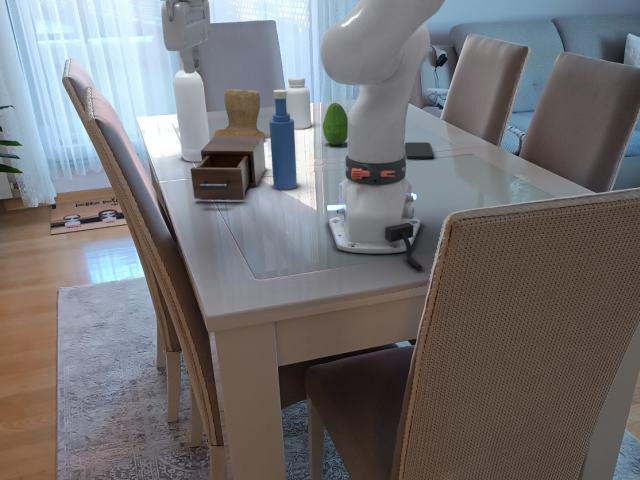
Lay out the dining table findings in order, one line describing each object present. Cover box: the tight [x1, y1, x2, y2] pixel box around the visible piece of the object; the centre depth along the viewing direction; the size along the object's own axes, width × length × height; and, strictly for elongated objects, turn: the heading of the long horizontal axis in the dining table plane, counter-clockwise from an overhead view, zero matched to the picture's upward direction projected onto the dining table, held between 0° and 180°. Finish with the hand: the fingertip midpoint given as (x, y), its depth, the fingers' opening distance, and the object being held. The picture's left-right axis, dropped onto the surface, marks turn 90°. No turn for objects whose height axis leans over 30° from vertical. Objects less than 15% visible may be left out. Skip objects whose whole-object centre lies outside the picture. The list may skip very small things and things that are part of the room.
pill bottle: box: [285, 76, 312, 130], centre depth 208 cm, size 8×8×15 cm
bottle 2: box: [268, 89, 298, 191], centre depth 150 cm, size 6×6×22 cm
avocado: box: [322, 102, 348, 146], centre depth 188 cm, size 8×8×12 cm
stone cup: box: [213, 88, 266, 139], centre depth 192 cm, size 15×12×15 cm
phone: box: [404, 141, 434, 160], centre depth 183 cm, size 7×1×15 cm
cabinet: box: [201, 135, 266, 188], centre depth 160 cm, size 15×13×9 cm
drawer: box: [190, 154, 252, 200], centre depth 148 cm, size 18×11×7 cm, turn 177°
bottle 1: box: [172, 51, 211, 163], centre depth 171 cm, size 8×8×30 cm
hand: (192, 71), depth 123 cm, fingers closed
